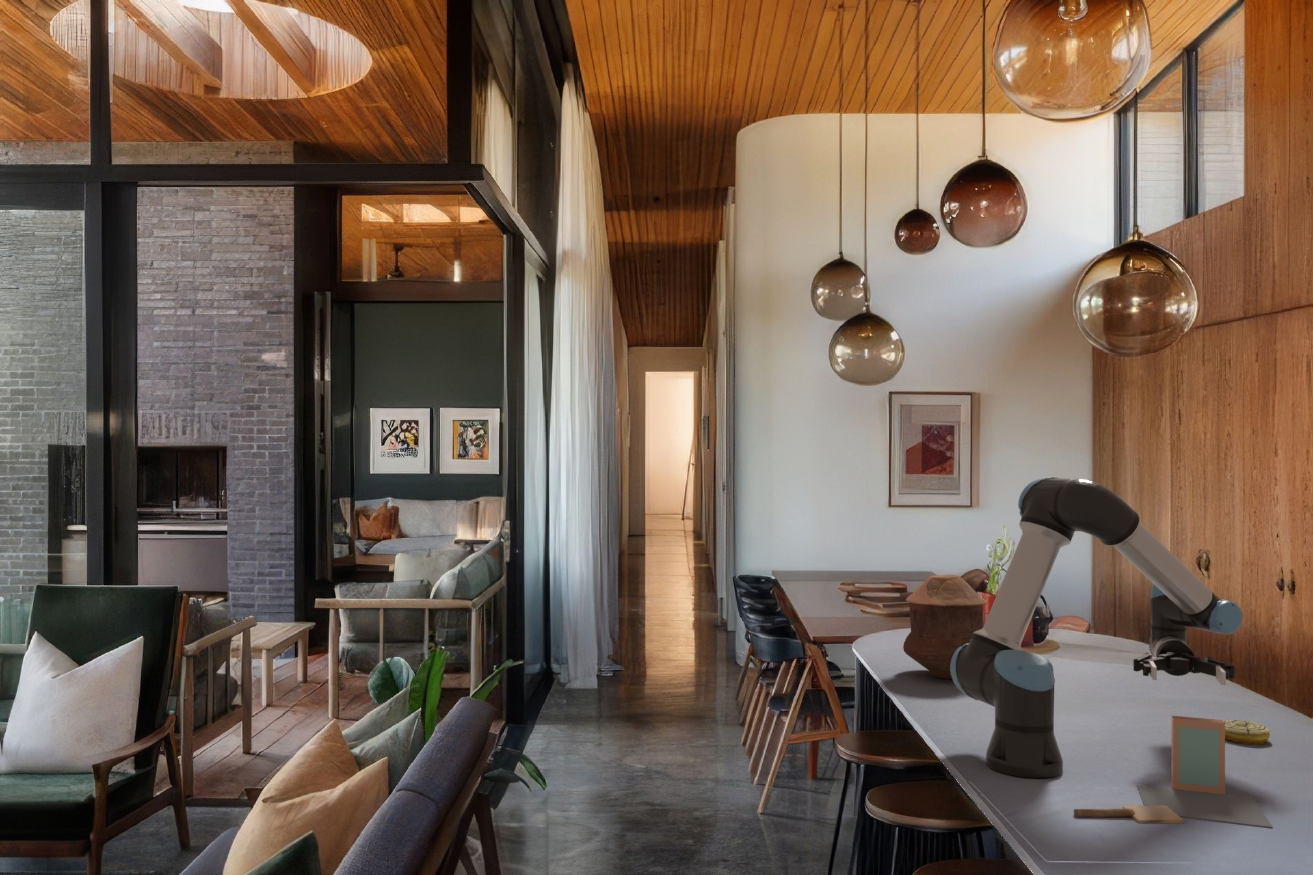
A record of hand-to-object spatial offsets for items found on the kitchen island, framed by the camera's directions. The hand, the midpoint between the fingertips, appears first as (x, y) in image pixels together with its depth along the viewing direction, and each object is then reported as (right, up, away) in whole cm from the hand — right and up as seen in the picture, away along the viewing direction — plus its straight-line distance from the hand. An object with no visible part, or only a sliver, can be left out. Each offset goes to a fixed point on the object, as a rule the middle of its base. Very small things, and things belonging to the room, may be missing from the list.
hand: (1188, 676), depth 205 cm
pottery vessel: (-24, -22, +89) cm, 95 cm away
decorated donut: (+26, -21, +26) cm, 43 cm away
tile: (-4, -20, -11) cm, 23 cm away
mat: (-8, -20, -20) cm, 29 cm away
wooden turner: (-24, -19, -26) cm, 40 cm away
